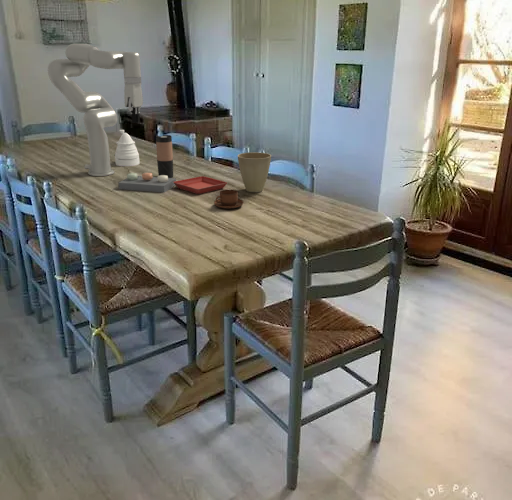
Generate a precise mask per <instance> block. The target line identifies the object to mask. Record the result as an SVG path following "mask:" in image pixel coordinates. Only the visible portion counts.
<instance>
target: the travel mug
mask: <svg viewBox="0 0 512 500" xmlns="http://www.w3.org/2000/svg"><path fill="white" fill-rule="evenodd" d="M172 139H173V137H172V135H170V134H163V135H161V136H159V135H156V136H155V146H156V147H155V148H156V163H157V171H158V172H157V173H158V175H157V176H160V175H166V176H168V178H174V154H173V140H172Z"/></svg>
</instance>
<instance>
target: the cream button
mask: <svg viewBox="0 0 512 500" xmlns="http://www.w3.org/2000/svg"><path fill="white" fill-rule="evenodd" d="M157 177H158V182H168V176H166V175H160V176H159V175H157Z"/></svg>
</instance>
